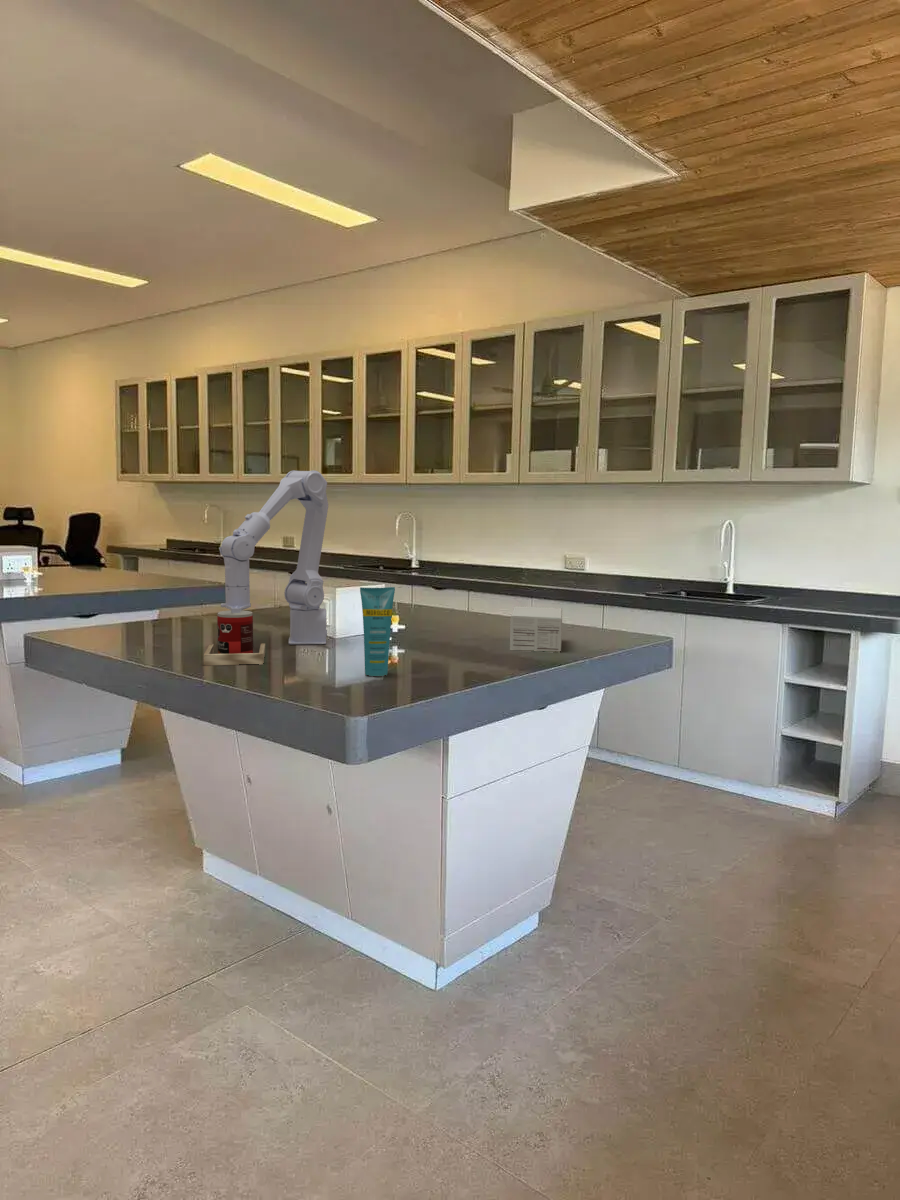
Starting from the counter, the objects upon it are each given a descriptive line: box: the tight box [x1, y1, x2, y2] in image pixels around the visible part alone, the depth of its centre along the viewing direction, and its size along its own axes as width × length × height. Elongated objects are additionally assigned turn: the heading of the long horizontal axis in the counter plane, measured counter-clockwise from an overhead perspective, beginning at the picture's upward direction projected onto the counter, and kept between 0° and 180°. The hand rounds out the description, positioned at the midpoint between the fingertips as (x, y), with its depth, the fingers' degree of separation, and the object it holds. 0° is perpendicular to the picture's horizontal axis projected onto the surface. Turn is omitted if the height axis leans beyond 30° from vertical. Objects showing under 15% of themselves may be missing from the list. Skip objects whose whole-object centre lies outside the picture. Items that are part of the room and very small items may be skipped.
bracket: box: [203, 643, 266, 666], centre depth 198 cm, size 13×13×2 cm
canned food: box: [216, 609, 254, 654], centre depth 197 cm, size 8×8×11 cm
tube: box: [359, 586, 396, 677], centre depth 183 cm, size 7×5×19 cm, turn 106°
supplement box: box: [509, 605, 563, 652], centre depth 222 cm, size 17×13×9 cm
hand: (238, 641), depth 207 cm, fingers closed
